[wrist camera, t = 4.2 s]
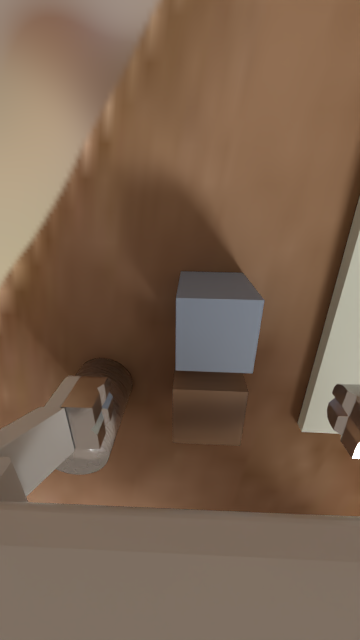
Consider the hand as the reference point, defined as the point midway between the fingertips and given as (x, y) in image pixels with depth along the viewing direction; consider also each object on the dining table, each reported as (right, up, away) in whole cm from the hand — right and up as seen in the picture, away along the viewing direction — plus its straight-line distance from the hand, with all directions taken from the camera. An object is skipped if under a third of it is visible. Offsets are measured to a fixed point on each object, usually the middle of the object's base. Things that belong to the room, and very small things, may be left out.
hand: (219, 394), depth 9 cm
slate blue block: (+1, +4, +10) cm, 11 cm away
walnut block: (+1, -2, +13) cm, 13 cm away
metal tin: (-8, -3, +13) cm, 16 cm away
